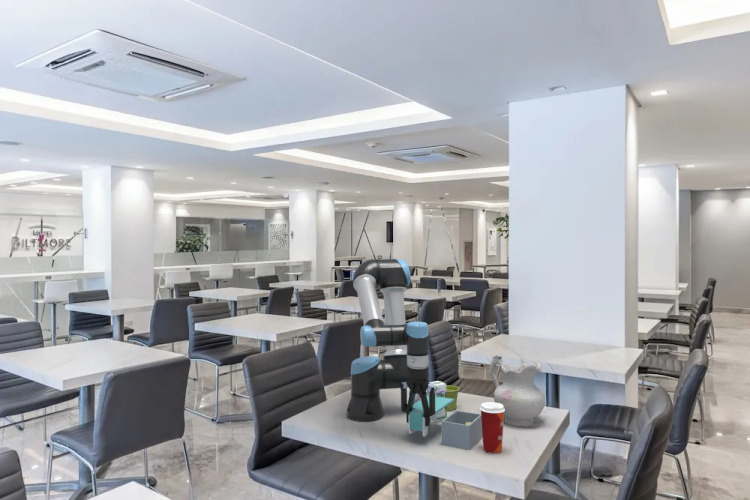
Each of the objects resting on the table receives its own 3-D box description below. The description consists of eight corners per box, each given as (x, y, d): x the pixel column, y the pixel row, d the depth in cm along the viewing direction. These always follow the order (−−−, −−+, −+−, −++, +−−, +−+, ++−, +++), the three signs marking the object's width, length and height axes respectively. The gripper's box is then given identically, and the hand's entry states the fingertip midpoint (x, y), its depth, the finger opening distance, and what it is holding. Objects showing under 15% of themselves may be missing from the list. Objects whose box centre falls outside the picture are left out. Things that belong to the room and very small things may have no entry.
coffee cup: (508, 454, 167) (508, 408, 167) (484, 455, 166) (483, 409, 166) (500, 444, 175) (500, 400, 175) (476, 445, 175) (476, 401, 175)
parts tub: (469, 450, 170) (469, 426, 171) (441, 444, 175) (441, 421, 176) (482, 436, 183) (482, 414, 183) (456, 432, 188) (456, 410, 188)
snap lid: (429, 432, 173) (429, 415, 173) (401, 427, 178) (401, 411, 178) (454, 414, 193) (454, 399, 193) (428, 410, 198) (428, 395, 198)
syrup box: (435, 422, 198) (435, 385, 198) (426, 418, 203) (426, 382, 203) (447, 419, 201) (446, 383, 201) (437, 415, 206) (437, 380, 206)
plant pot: (442, 412, 210) (441, 391, 210) (434, 406, 219) (434, 386, 219) (463, 411, 212) (463, 390, 212) (454, 404, 221) (454, 384, 221)
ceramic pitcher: (482, 426, 197) (480, 363, 195) (495, 408, 214) (493, 350, 212) (540, 435, 187) (539, 369, 185) (548, 416, 204) (548, 355, 202)
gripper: (390, 366, 179) (390, 432, 179) (436, 371, 170) (437, 441, 170) (400, 362, 185) (400, 426, 185) (445, 367, 177) (445, 434, 176)
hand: (418, 433), depth 178 cm, fingers closed on snap lid, 5 cm apart
